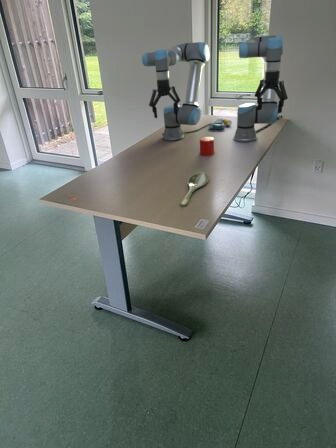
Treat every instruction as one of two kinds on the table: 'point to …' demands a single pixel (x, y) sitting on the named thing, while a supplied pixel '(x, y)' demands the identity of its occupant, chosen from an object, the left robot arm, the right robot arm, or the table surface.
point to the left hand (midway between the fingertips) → (165, 116)
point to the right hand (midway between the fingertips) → (269, 111)
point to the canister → (207, 146)
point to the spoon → (195, 184)
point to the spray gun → (220, 124)
